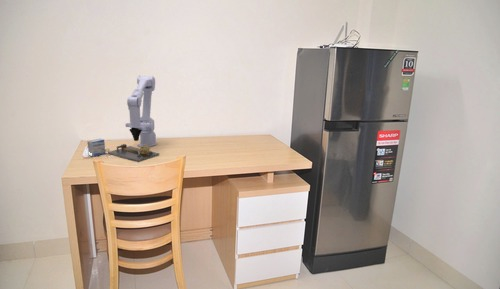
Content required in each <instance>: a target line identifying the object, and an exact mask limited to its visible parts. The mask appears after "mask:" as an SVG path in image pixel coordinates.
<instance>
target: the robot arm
mask: <svg viewBox="0 0 500 289" xmlns="http://www.w3.org/2000/svg"><path fill="white" fill-rule="evenodd" d="M136 83H137V86H136V88H135V89H134V90H133V92H132V94H131V95H130V96H129V97H127V101H126V105H127V108H128V112H129V122H128V123H127V122H126V123H125V128H130V129H128V130H129V132H130V133H131V135H132V138H133V140H134V142H138V141H139V139H140V143H139V144H137V146H138V147H140V146H143V145H149V148H150V147H153V146H157V145H158V143H157V139H156V138H157V136H156V132H155V120H154V119H153V118H152V117H151V110H152V109H151V105H152V94H153V92H154V91H155V90H156V79H155V77H154V76H150V75H149V76H146V75H138V76H137V79H136ZM142 98H143V99H142ZM141 106H142V112H141Z"/></svg>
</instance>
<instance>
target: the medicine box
mask: <svg viewBox="0 0 500 289" xmlns="http://www.w3.org/2000/svg"><path fill="white" fill-rule="evenodd" d="M86 142H87V150H88V151H87V152H88V153H89V152H90V153H92V156H91V157H93V158H95V157H99V156H102V155H105V154H106V145H105V143H106V142H105V139H103V138H96V139H93V140H87V141H86Z"/></svg>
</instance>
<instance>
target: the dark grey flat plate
mask: <svg viewBox="0 0 500 289" xmlns="http://www.w3.org/2000/svg"><path fill="white" fill-rule="evenodd" d="M127 148H129V149H133V150H137V151H139V150H141V149H140V147H139V148H138V147H135V146H132V145H131V146H130V145H129V146H127ZM118 150H119V151H117V149H114V150H111V151H107V155H110V156H114V157H119V158H122V159H125V160H129V161H133V162H136V163H140V162H144V161H147V160H149V159H152V158H155V157H158V156H160V153H158V152H154V151H152V156H146V155H142V154H140V156H138V153H134V152H130V151H126V150H122V149H121V148H118ZM150 152H151V150H150Z"/></svg>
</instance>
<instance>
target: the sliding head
mask: <svg viewBox="0 0 500 289" xmlns="http://www.w3.org/2000/svg"><path fill="white" fill-rule="evenodd" d="M139 149H141V150H139V151H138V156H140V152H141V153H142V154H147V153H148V152H150V151H151V150H150V147H149V145H143V146H139Z"/></svg>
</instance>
